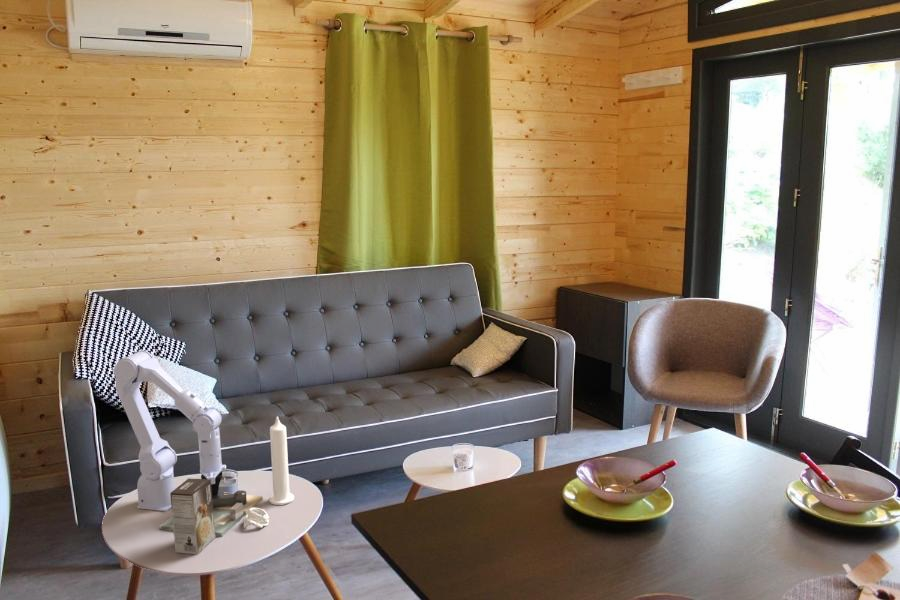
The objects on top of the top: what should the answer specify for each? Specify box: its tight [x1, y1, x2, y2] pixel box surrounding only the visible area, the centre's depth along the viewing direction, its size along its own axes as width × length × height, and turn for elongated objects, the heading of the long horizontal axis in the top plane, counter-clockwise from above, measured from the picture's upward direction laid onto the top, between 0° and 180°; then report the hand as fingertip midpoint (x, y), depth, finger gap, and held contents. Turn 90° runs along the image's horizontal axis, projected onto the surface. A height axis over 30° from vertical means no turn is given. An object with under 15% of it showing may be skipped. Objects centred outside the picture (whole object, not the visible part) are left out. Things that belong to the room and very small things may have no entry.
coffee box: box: [170, 477, 216, 555], centre depth 191 cm, size 9×6×16 cm
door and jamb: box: [159, 494, 263, 537], centre depth 209 cm, size 18×22×4 cm
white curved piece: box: [243, 507, 270, 530], centre depth 203 cm, size 8×7×5 cm
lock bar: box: [212, 490, 247, 507], centre depth 212 cm, size 12×3×3 cm, turn 99°
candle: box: [268, 416, 295, 506], centre depth 215 cm, size 7×7×25 cm
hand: (213, 498), depth 213 cm, fingers closed, pressing on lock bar
